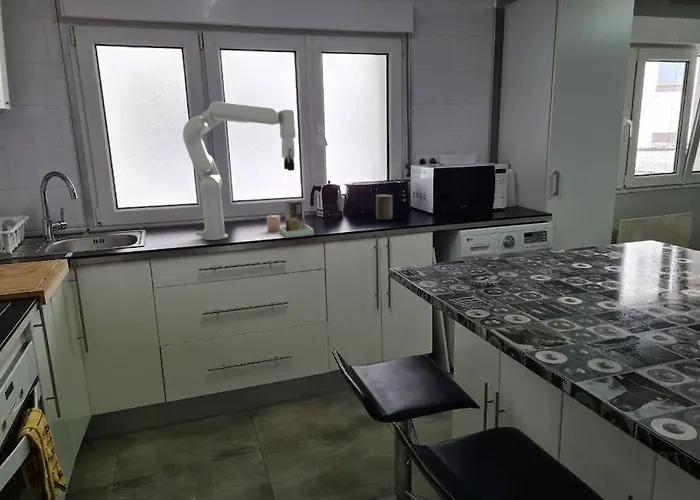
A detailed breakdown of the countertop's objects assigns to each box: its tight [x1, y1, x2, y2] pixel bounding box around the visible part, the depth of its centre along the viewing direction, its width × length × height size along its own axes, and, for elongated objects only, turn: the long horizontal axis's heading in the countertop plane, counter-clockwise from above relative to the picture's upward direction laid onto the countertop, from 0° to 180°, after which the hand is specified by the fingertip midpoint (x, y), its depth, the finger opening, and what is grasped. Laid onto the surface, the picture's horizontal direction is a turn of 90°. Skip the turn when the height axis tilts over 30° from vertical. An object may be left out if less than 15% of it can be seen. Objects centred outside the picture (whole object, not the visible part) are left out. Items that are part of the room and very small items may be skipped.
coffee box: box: [284, 200, 306, 232], centre depth 261 cm, size 9×6×16 cm
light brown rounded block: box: [266, 214, 282, 233], centre depth 272 cm, size 7×7×8 cm
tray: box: [279, 224, 315, 239], centre depth 263 cm, size 15×15×3 cm
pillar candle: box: [375, 194, 393, 221], centre depth 299 cm, size 10×10×15 cm
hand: (289, 169), depth 257 cm, fingers open, 9 cm apart
